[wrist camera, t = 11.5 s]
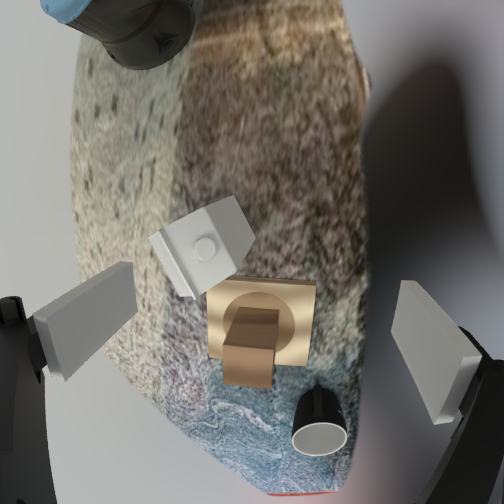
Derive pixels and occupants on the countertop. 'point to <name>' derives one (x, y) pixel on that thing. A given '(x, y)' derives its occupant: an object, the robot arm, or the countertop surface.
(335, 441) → the mug
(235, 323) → the block
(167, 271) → the milk carton
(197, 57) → the countertop surface
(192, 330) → the countertop surface
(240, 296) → the board
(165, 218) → the countertop surface
